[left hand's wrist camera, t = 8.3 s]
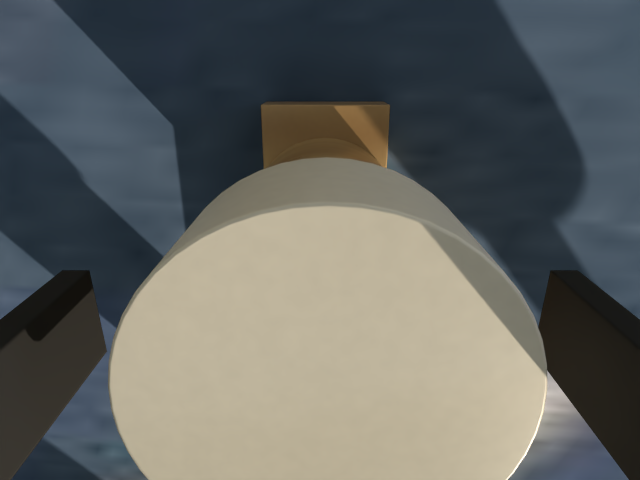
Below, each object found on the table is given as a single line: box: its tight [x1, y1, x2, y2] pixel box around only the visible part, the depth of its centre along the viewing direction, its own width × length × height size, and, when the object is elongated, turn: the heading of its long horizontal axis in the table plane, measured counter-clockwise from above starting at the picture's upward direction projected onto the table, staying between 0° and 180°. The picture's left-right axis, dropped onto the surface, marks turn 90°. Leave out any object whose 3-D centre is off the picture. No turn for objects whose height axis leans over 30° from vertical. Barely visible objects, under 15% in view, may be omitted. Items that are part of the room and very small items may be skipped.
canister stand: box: [261, 102, 390, 169], centre depth 22 cm, size 28×7×12 cm, turn 0°
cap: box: [108, 157, 547, 480], centre depth 11 cm, size 9×9×4 cm
